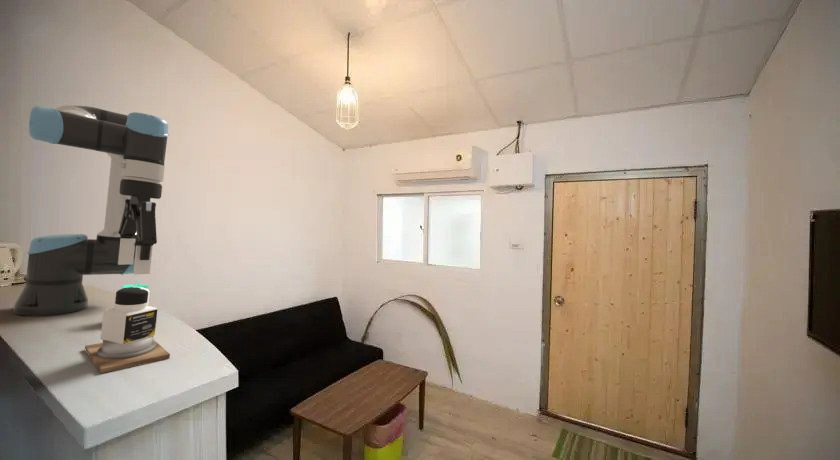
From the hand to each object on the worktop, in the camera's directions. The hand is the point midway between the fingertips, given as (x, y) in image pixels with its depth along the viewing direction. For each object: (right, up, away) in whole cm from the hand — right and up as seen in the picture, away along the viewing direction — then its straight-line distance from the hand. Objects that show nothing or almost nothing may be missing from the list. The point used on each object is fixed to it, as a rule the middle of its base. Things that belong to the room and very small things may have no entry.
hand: (133, 269), depth 76 cm
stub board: (-2, -21, +1) cm, 21 cm away
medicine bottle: (-2, -17, +1) cm, 17 cm away
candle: (-20, -19, +22) cm, 35 cm away
